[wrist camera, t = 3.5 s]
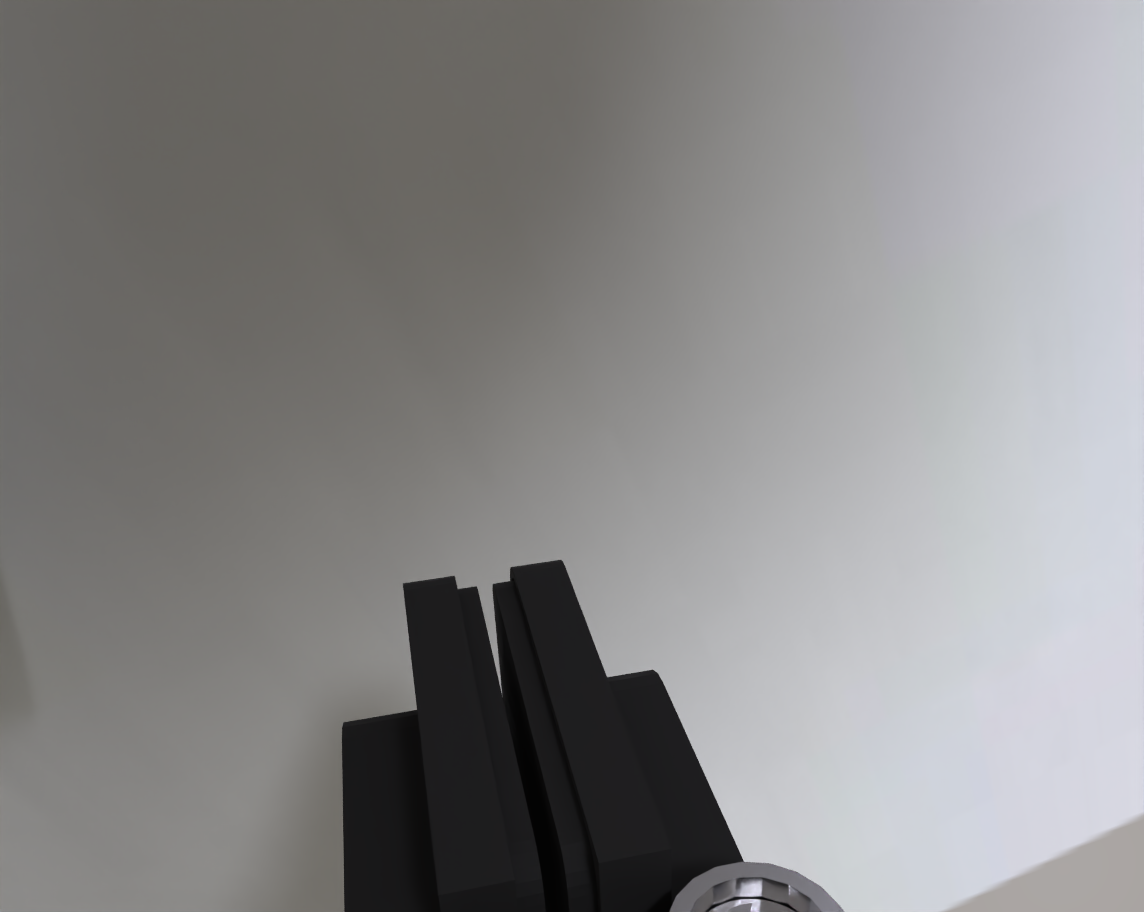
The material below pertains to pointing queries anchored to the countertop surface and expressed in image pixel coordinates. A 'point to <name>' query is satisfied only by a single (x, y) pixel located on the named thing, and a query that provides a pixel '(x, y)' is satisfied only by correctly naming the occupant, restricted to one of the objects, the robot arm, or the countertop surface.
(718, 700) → the countertop surface
